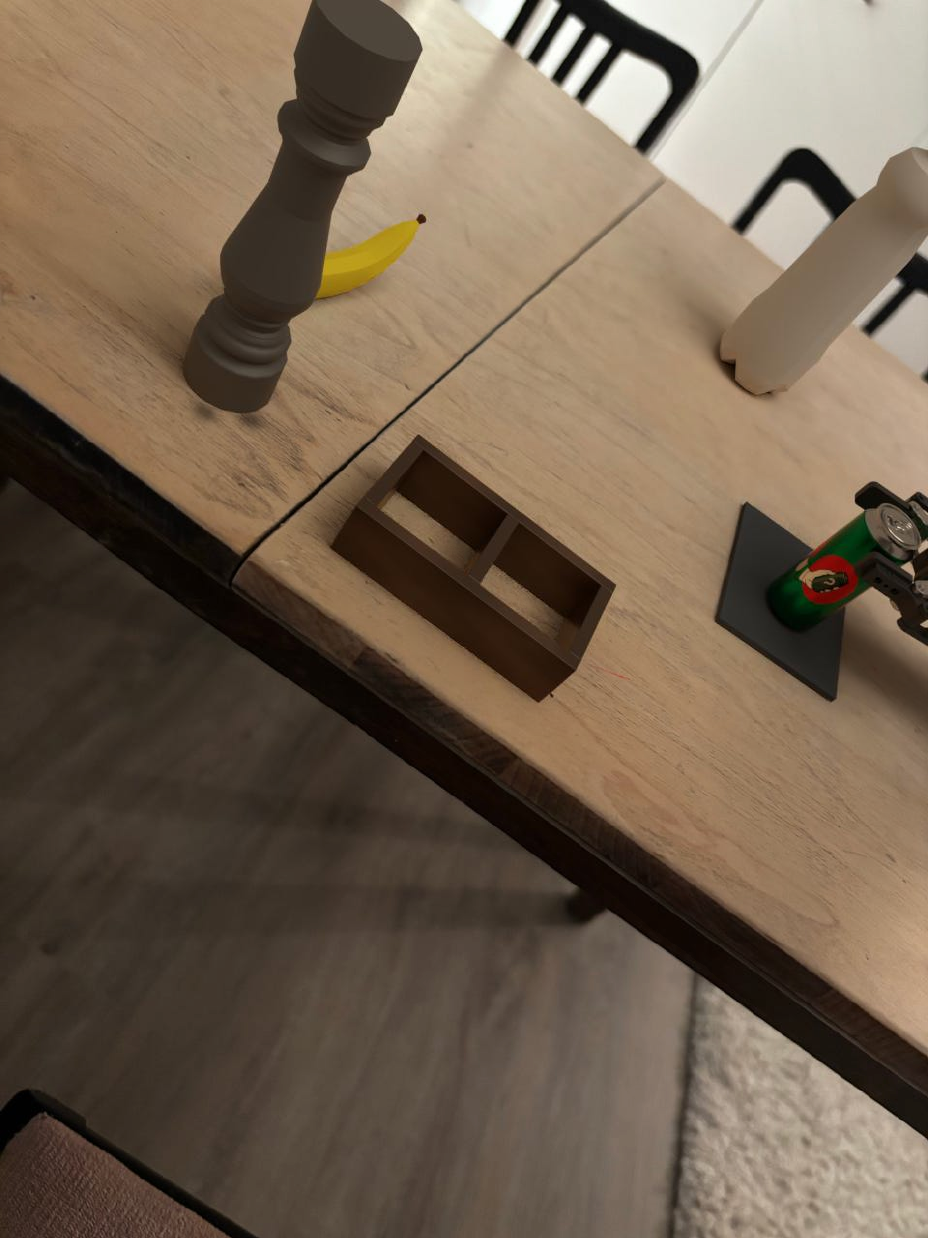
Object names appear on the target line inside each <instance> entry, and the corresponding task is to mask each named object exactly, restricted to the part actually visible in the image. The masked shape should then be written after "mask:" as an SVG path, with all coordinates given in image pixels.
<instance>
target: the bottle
mask: <svg viewBox="0 0 928 1238" xmlns="http://www.w3.org/2000/svg"><path fill="white" fill-rule="evenodd" d="M927 237H928V149H926V148H922V147H919V146H911V147H909V148H907V149H905V150H903V151H901V152H898V153H897V154H895V155H893V156H891V157H889V158H888V160H887V161H886V163H885V165H884V166H883V167H882V169H881V170H880V172H879V175H878V177H877V180H876V183H875V185H874V186H873V187H872V188H870V189H869V190H868V191H866V192H865V193H864V194H863V195H861V196H859V198H857V199H856V200H854V201H853V202H852V203H851V204H849V206H848V207H847V208H846V209H845V210H844V211H843V212H842V213H841V214H840V215H839V216H838V217H837V218H836V219H835V220H834V221H833V222H832V223H831V224H830V225H829V226H828V227H827V228H826V229H825V230H824V231H823V232H822V233H821V234H820V235H819V236H818V237H817V238H816V239H815V240H814V241H813V242H812V243H811V244H810V246H808V247H807V248H806V249H805V250H804V251H803V252H802V253H801V255H799V256H798V257H797V258H796V259H795V261H793V262H792V263H791V264H790V265H789V266H788V268H786V270H785V271H783V273H782V274H781V275H780V276H778V278H777V279H775V281H773V283H772V284H771V285H769V287H768V288H766V289H765V290H764V291H762V292H761V293H759V294H758V295H756V297H754V299H753V300H751V302H749V304H748V305H747V306H746V307H745V308H744V309H743V311H742V312H741V313H740V314H739V315H738V316H737V317H736V318H735V320H734V321H733V322H732V323H731V324H730V325H729V326H728V327H727V328H726V329H725V331H724V333H723V334H722V336H721V340H720V346H719V356H720V360H721V361H723V362H725V363H728V364H731V365H733V364H735V373H734V377H735V378H734V381H735V382H736V383H738V384H739V385H740V386H741V387H742V388H744V389H745V390H746V391H748V392H750V393H751V394H753V395H754V396H759V395H762V394H764V393H768V392H769V393H770V394H771V395H774V394H780V393H784V392H789V390H791V389H792V387H793V386H794V385H795V384H796V383H797V382H799V381H800V380H801V378H803V377H804V376H805V375H806V374H807V373H808V372H809V371H810V370H811V369H812V368H814V366H815V365H817V364H818V363H819V362H820V360H821V359H822V357H823V356H824V355H825V353H826V352H827V350H828V349H829V347H830V346H832V344H833V343H834V342H835V341H836V340H837V339H838V338H839V337H840V335H842V333H843V332H845V330H846V329H847V328H848V327H849V326H850V325H851V324H852V323H853V322H854V321H855V320H856V318H857V317H858V316H860V314H861V313H862V312H863V311H864V310H865V309H866V308H867V307H868V306H869V305H870V304H871V303H872V302H873V300H874V299H876V298H877V296H878V295H879V294H880V293H881V292H882V291H883V290H884V289H885V288H886V287H887V286H888V285H889V283H891V282H892V281H893V279H895V277H896V276H897V275H898V274H899V273H900V272H901V271H902V270H903V269H904V267H905V266H907V264H908V263H909V262H910V261H911V260H912V258H913V257H914V256H915V254H916V253H917V252H918V250H919V249H920V248H921V246H922V245H923V243H924V242H925V241H926V239H927Z"/></svg>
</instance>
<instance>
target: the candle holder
mask: <svg viewBox="0 0 928 1238" xmlns="http://www.w3.org/2000/svg"><path fill="white" fill-rule="evenodd" d="M423 50H424V48H423V44H422V41H421V38H420V36H419V35H418V33H417V32H416V31H415V29H414V28H413V26H412V25H411V24H410V23H409V22H408V20H406V19H405V18H404V17H403V16H402V15H401V14H400V13H399V12H398V11H396V10H395V9H394V8H393V7H391V6H390V5H388V4H387V3H385V2H384V1H382V0H311V2H310V6H309V8H308V11H307V14H306V17H305V20H304V23H303V25H302V28H301V31H300V34H299V36H298V40H297V43H296V45H295V49H294V52H293V60H294V65H295V66H294V69H293V77H294V82H295V83H294V84H295V96H296V98H293V99H290V100H286V101H284V102H283V103H282V105H281V107H280V108H279V110H278V112H277V116H276V121H277V128H278V132H279V134H280V136H281V140H282V142H281V145H280V147H279V150H278V153H277V155H276V158H275V161H274V164H273V166H272V169H271V172H270V175H269V177H268V180H267V182H266V184H265V185H264V187H263V188H262V189H261V191H260V192H259V194H258V195H257V197H256V198H255V200H254V201H253V202H252V204H251V205H250V206H249V208H248V209H247V211H246V212H245V213H244V215H243V217H242V218H241V219H240V221H239V222H238V224H237V225H236V226H235V228H234V229H233V230H232V232H231V233H230V234H229V236H228V237H227V239H226V241H225V243H224V244H223V246H222V248H221V251H220V254H219V269H220V277H221V281H222V285H223V293H221V294H219V295H217V296H214V297H213V298H211V299H210V300H209V303H208V304H207V306H206V307H205V309H204V312H203V314H201V316H200V317H199V319H198V320H197V322H196V324H195V326H194V328H193V331H192V334H191V336H190V340H189V343H188V346H187V349H186V352H185V354H184V358H183V360H182V368H183V376H184V378H185V380H186V381H187V383H188V385H189V387H190V389H191V390H192V391H193V392H194V393H195V394H197V396H198V397H200V398H201V399H202V400H203V401H204V402H206V403H207V404H211V405H212V406H215V407H216V408H219V409H220V410H223V411H227V412H234V413H238V414H245V413H253V412H257V411H259V410H260V409H262V408H264V407H266V406H267V405H269V402H270V400H271V398H272V396H273V393H274V392H275V389H276V387H277V385H278V382H279V380H280V378H281V376H282V374H283V372H284V370H285V368H286V365H287V363H288V360H289V357H288V351H289V349H290V347H291V345H292V343H293V341H292V333H291V327H290V326H289V324H290V322H291V320H292V319H294V318H296V317H298V316H299V315H302V314H303V313H304V312H306V311H308V310H309V308H310V307H312V305H313V304H314V302H315V300H316V298H315V297H316V295H317V293H318V291H319V289H320V287H321V281H322V274H323V267H324V260H325V254H326V253H327V247H328V241H329V235H330V234H329V233H330V227H331V221H332V215H333V211H334V209H335V207H336V204H337V202H338V199H339V197H340V195H341V193H342V190H343V188H344V186H345V183H346V182H347V179H348V177H349V176H352V175H354V174H355V173H359V172H362V171H363V170H364V169H365V168H366V166H367V164H368V163H369V162H368V161H369V160H370V158H371V156H372V150H371V145H370V141H369V139H368V137H370V136H371V134H372V133H373V132H374V131H375V130H377V129H379V128H381V127H383V126H384V124H385V122H386V120H387V118H389V117H392V116H394V114H395V112H396V110H397V108H398V106H399V104H400V102H401V100H402V97H403V95H404V94H405V91H406V88H407V86H408V84H409V82H410V80H411V77H412V75H413V73H414V71H415V68H416V66H417V64H418V62H419V59H420V57H421V55H422V53H423Z"/></svg>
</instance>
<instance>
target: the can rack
mask: <svg viewBox="0 0 928 1238" xmlns="http://www.w3.org/2000/svg"><path fill="white" fill-rule="evenodd" d="M396 492H398V493H400V494H401V495H402V496H404V498H406V499H407V500H409V501H410V502H412V503H413V504H414V505H416V506H417V507H418V508H420V509H421V510H422V511H423V512H425V513H426V514H427V515H429V516H430V517H431V518H433V519H434V520H435V521H437V522H438V523H439V524H440V525H442V526H443V527H445V528H446V529H447V530H449V531H450V532H451V533H453V534H454V535H455V536H457V537H458V538H459V539H461V540H462V541H463V542H465V544H467V545H469V546H470V547H471V548H472V549H474V550H475V553H474V554H473V556H472V557H471V559H470V560H469V562H468V563H467V565H466V566H465V568H464V569H463V571H462V569H460V568H458V567H457V566H456V565H454V563H452V562H451V561H449V560H448V559H447V558H445V556H442V555H441V553H439V552H437V551H436V550H435V549H433V548H432V547H431V546H429V544H426V543H425V542H424V541H422V540H421V539H420V538H418V537H417V536H416V535H414V534H413V533H412V532H411V531H409V530H408V529H407V528H405V527H404V526H403V525H401V524H400V523H399V522H397V521H396V520H395V519H393V518H392V517H391V516H389V515H388V514H387V513H385V512H384V511H383V508H384V507H385V506H386V504H387V503H388V502H389V501H390V500H391V498H392V497H393V496H394V495H395V494H396ZM329 548H331V549H332V550H333V551H335V552H336V553H337V554H338V555H340V556H341V557H342V558H344V559H345V560H346V561H348V562H349V563H350V564H352V565H353V566H354V567H356V568H357V569H359V570H360V571H361V572H362V573H364V574H365V575H366V576H368V577H369V578H371V580H373V581H375V583H377V584H379V585H380V586H382V588H384V589H386V590H387V591H388V592H389V593H390V594H392V595H394V596H395V597H396V598H398V599H399V600H400V601H401V602H403V603H404V604H406V605H407V606H408V607H410V608H411V609H412V610H414V611H415V612H416V613H418V614H419V615H421V617H423V618H425V619H426V620H427V621H429V622H430V623H431V624H432V625H434V626H435V627H436V628H438V629H439V630H441V631H442V632H443V633H444V634H446V635H447V636H449V637H450V638H452V639H453V640H454V641H456V642H457V643H458V644H459V645H461V646H462V647H463V648H465V649H466V650H468V651H469V652H470V653H472V654H473V656H476V657H477V658H478V659H480V660H481V661H483V662H484V663H485V664H486V665H488V666H489V667H490V668H492V669H493V670H494V671H496V672H497V673H499V674H500V675H501V676H502V677H504V678H505V679H507V680H508V681H509V682H511V683H512V684H513V685H515V686H516V687H517V688H518V689H520V690H522V691H523V692H524V693H526V694H527V695H528V696H529V697H531V698H532V699H533V700H535V701H536V702H538V703H541V702H542V701H543V700H544V699H546V698H547V697H548V696H549V695H550V694H552V692H553V691H555V690H556V689H557V688H558V687H560V686H561V685H562V684H563V683H565V682H566V680H568V679H569V678H570V677H571V676H572V675H574V674H575V673H576V672H577V670H578V668H579V666H580V664H581V662H582V660H583V657H584V655H585V653H586V651H587V650H588V647H589V644H590V643H591V640H592V639H593V636H594V634H595V632H596V630H597V627H598V626H599V624H600V621H601V619H602V617H603V615H604V612H605V611H606V609H607V606H608V604H609V602H610V600H611V598H612V596H613V594H614V592H615V589H616V587H617V584H616V583H615V582H614V581H612V580H611V579H609V578H608V577H607V576H605V575H604V574H603V573H602V572H600V571H599V570H598V569H596V568H595V567H594V566H592V565H591V564H590V563H588V561H587V560H585V559H583V558H582V557H581V556H580V555H578V554H577V553H576V552H574V551H573V550H571V549H570V548H569V547H568V546H567V545H565V544H564V543H562V542H561V541H560V540H559V539H557V538H556V537H554V536H553V535H552V534H551V533H550V532H548V531H547V530H545V528H543V527H542V526H540V525H539V524H537V523H536V522H535V521H534V520H532V519H531V518H529V516H527V515H526V514H525V513H524V512H522V511H520V510H519V509H518V508H517V507H515V506H514V505H513V504H512V503H510V502H509V501H508V500H506V499H505V498H503V497H502V496H500V494H498V493H497V492H496V491H494V490H493V489H492V488H491V487H489V486H488V485H486V484H485V483H484V482H482V480H480V479H478V477H476V476H475V475H473V474H472V473H471V472H470V471H468V470H467V469H465V468H464V467H463V466H462V465H460V464H459V463H458V462H456V461H455V460H454V459H452V458H451V457H450V456H448V455H447V454H446V453H444V451H442V450H441V449H439V448H438V447H437V446H436V445H434V444H433V443H431V442H430V441H428V439H426V438H425V437H423V435H421V434H419V433H417V435H416V436H415V437H414V438H413V439H412V440H411V442H410V443H409V444H408V445H407V446H406V447H405V448H404V449H403V451H402V452H401V453H400V454H399V455H398V456H397V458H395V460H394V461H393V462H392V463H391V464H390V465H389V467H388V468H387V469H386V470H385V471H384V472H383V473H382V474H381V476H380V477H379V478H378V479H377V480H376V482H375V483H374V484H372V486H371V487H370V488H369V489H368V490H367V492H366V493H365V494H364V495H363V496H362V498H361V499H360V500H359V501H358V502H357V504H356V505H355V506H354V507H353V509H352V510H351V512H350V514H349V516H348V517H347V519H346V520H345V522H344V523H343V525H342V527H341V529H340V530H339V531H338V533H337V534H336V537H334V539H333V541H332V543H331V545H330V546H329ZM493 565H495V566H497V568H499V569H500V570H502V571H503V572H504V573H506V574H507V575H508V576H510V577H511V578H512V579H513V580H515V581H516V582H518V584H520V585H521V586H523V587H524V588H525V589H527V590H528V591H529V592H531V593H532V594H534V596H536V597H537V598H538V599H540V600H542V601H543V602H544V603H545V604H546V605H548V606H549V607H551V608H552V609H553V610H554V611H556V612H557V613H558V614H560V615H561V616H562V617H564V618H565V620H564V621H563V624H562V625H561V628H560V630H559V632H558V634H557V635H556V637H555V639H553V638H551V636H549V635H548V634H546V633H545V632H544V631H543V630H541V629H540V628H539V627H537V626H536V625H534V624H533V623H532V622H530V620H528V619H527V618H525V617H524V616H522V615H521V614H520V613H519V612H517V611H516V610H515V609H513V608H512V607H510V606H509V605H508V604H506V603H505V602H504V601H502V600H501V599H500V598H498V597H497V596H496V595H495V594H493V593H492V592H491V591H489V590H487V588H485V587H484V586H483V585H481V583H482V582H483V580H484V579H485V577H486V576H487V574H488V573H489V571H490V570H491V568H492V567H493Z"/></svg>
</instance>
